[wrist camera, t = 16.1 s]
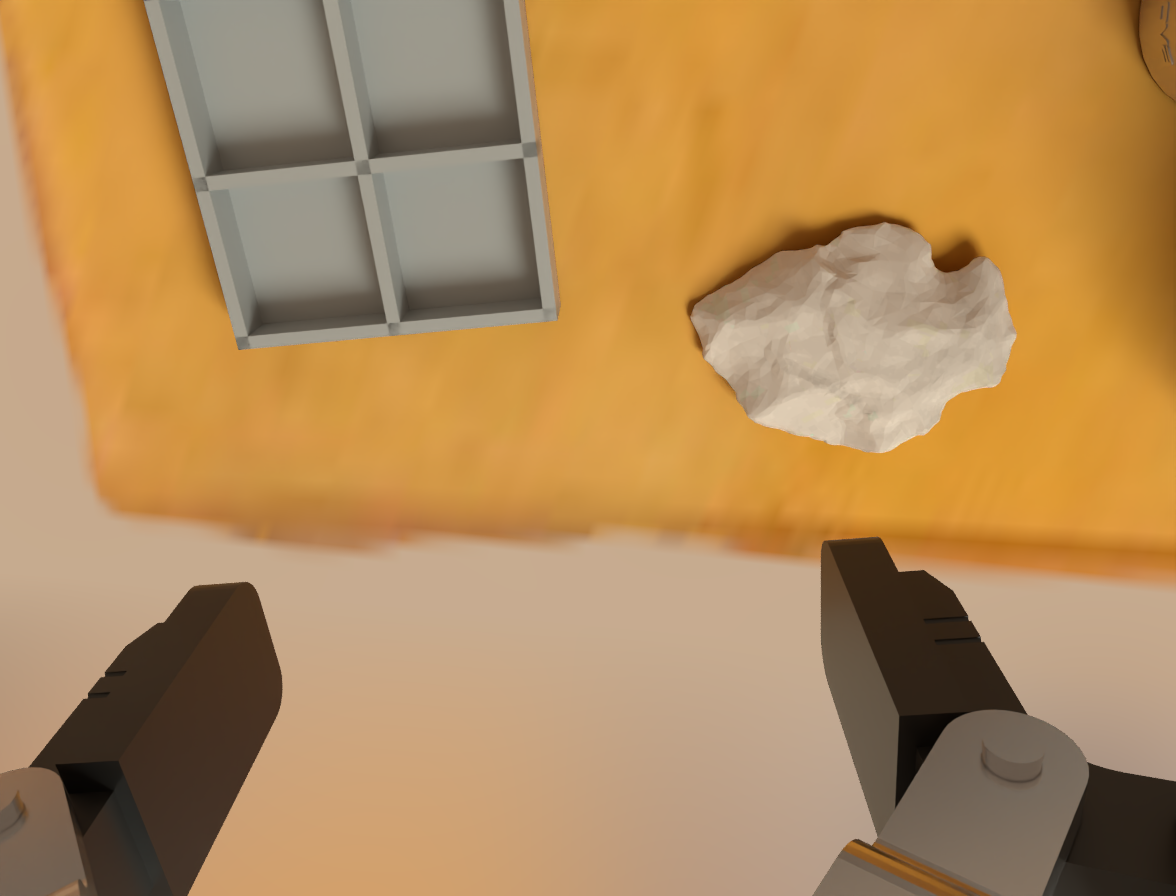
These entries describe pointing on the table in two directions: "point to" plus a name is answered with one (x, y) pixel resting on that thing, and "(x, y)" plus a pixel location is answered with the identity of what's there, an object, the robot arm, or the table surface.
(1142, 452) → the table surface
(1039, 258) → the table surface
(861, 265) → the decorative stone
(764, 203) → the table surface
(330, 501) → the table surface
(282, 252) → the grey compartment tray
